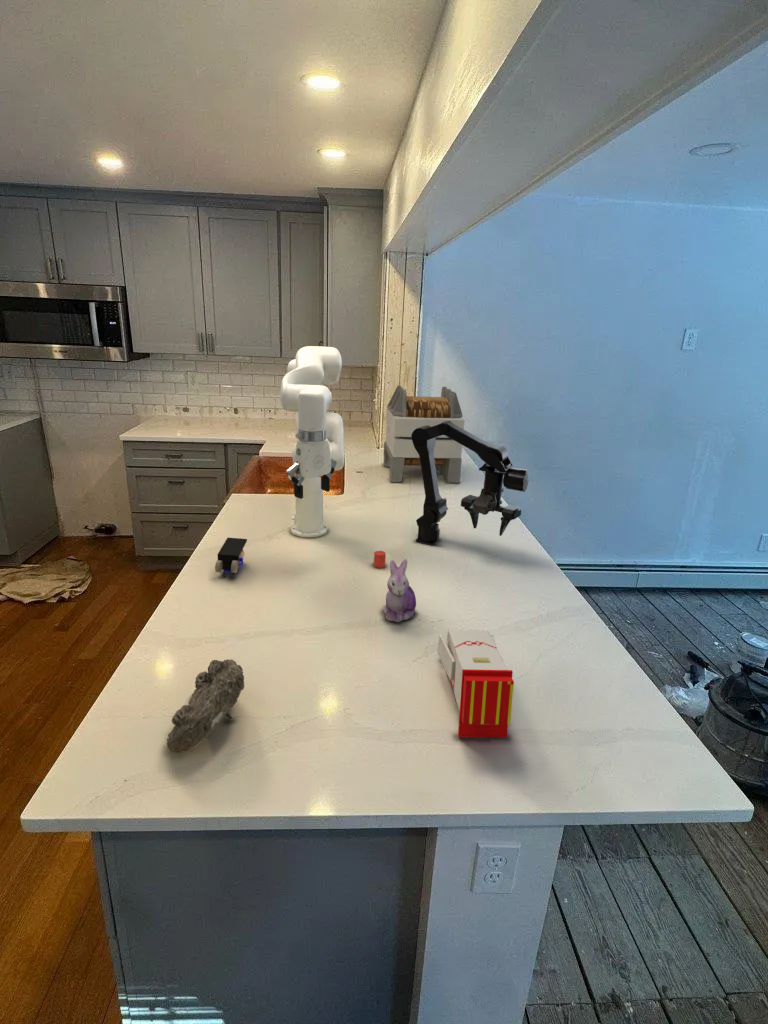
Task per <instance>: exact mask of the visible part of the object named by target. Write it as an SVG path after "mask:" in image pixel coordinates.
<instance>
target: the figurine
mask: <svg viewBox="0 0 768 1024" xmlns="http://www.w3.org/2000/svg"><path fill="white" fill-rule="evenodd" d="M407 567H408V559H406V558H404V559H403V560H402V561H401V563H400V565H399V566H398V565H397V563H396V562H395V561H394V560H393V559H391V560H390V561H389V570H390V576H389V578H388V579H387V589H388V591H387V592H386V594H385V595H386V596H385V607H384V615H385V616H386V620H387V621H391V622H395V623H400V622H402V621H406V620H409V619H410V618H411V617H413V616H414V615H415V610H416V606H417V597H416V593H415V591H414V590H413V587H411V586H410V582H409V579H408V577H407V574H406V571H407Z"/></svg>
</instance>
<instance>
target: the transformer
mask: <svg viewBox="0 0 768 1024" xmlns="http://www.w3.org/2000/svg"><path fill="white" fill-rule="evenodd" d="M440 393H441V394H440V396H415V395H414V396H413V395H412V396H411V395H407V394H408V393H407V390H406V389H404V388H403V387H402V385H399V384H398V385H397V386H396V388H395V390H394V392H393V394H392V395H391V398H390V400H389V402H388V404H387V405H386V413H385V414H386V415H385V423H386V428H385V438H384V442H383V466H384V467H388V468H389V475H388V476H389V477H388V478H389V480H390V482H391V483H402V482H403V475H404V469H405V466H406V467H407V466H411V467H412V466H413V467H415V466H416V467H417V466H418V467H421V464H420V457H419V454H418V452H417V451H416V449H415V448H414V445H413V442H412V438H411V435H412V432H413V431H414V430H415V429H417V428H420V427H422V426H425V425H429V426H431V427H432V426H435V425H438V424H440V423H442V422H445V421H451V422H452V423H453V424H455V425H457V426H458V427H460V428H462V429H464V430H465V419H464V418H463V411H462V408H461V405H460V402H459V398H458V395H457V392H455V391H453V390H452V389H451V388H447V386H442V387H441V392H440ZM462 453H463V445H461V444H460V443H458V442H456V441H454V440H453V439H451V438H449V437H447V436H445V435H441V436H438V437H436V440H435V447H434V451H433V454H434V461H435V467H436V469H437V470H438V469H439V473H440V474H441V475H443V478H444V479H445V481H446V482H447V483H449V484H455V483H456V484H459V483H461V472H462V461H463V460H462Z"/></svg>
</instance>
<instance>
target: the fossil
mask: <svg viewBox="0 0 768 1024" xmlns="http://www.w3.org/2000/svg"><path fill="white" fill-rule="evenodd" d="M243 670H244V669H243V667H242V665H240V664H237V662H236V661H235V660H234V659H232V658H231V659H227V658H226V659H224V660H223V661H222V660H217V659H212V660H211V661H210V663H209V665H208V666H207V671H201V672H199V673H198V674H197V675H196V676H195V680H194V684H195V685H194V687H195V689H194V690H193V693H192V694H191V697H190V698H189V700H188V704H184V705H182V706H181V707H180V709H177V710H176V711H175V713H174V715H173V716H172V718H171V723H172V724H173V727H172V730H171V731H170V732H168V734H167V738H166V741H167V742H166V745H167V749H168V750H169V751H173V752H174V753H176V754H178V753H182V752H188V751H189V752H192V751H193V750H195V748H196V747H197V746H199V744H200V743H201V742H203V741H204V740H205V739H206V738H207V737H208V736H209V735H210V734H211V733H212V732H214V730H215V729H217V727H218V726H219V724H220V722H221V721H222V720H223V719H224V718H225V716H226V717H227V719H229V720H233V717H232V715H230V714H229V710H230V709H231V708H234V706H235V704H236V703H237V702H238V699H239V697H240V695H241V693H242V691H243V690H245V689H244V688H245V675H244V671H243Z"/></svg>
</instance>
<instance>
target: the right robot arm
mask: <svg viewBox="0 0 768 1024" xmlns="http://www.w3.org/2000/svg"><path fill="white" fill-rule="evenodd" d="M441 435H445V436H447V437H449V438H451V439H453V440H454V441H456V442H458V443H460V444H461V445H462V447H465V448H467V450H468V449H469V450H470V451H472V452H474V453H475V454H476V455H477V457H479V459H480V460H482V462H484V464H483V465H482V466H481V467H479V468H478V471H481V472H484V480H483V487H482V488H481V491H480V494H479V496H477V495H472V494H468V495H466V496H463V498H461V500H460V507H463V509H464V510H465V511H467V512H468V514H469V516H470V520H471V523H472V526H473V529H477V527H478V524H479V516H480V514H481V515H484V516H486V515H488V514H489V512H492V513H494V512H498V513H501V517H500V521H501V522H500V527H499V537H502V536H503V534H504V532H505V531H506V529H507V527H508V525H509V524H510V522H511V521H514V520H516V519H517V518H519V517H521V515H522V509H521V507H520V506H516V505H513V504H509V505H506V506H503V505H502V504H503V500H501V499H502V493H504V489H508V490H512V491H517V492H523V493H525V492H526V490H527V489H528V486H529V480H530V479H529V473H528V469H526V468H517V467H514V464H513V462H512V461H511V459H510V457H509V452H508V449H507V447H505V446H504V445H501V444H499V443H495V442H493V441H489V440H488V441H487V440H484V439H483V438H480V437H478V436H477V435H474V434H473V433H471V432H469V431H468V430H466V429H465V428H464V429H462V428H460V427H458V426H457V425H455V424H453V423H452V422H451V421H445V422H442V423H440V424H438V425H435V426H432V427H431V426H429V425H425V426H422V427H420V428H417V429H415V430H414V431H413V432H412V435H411V438H412V442H413V445H414V448H415V449H416V451H417V452H418V454H419V457H420V464H421V466H420V470H421V476H422V483H423V490H424V496H425V498H424V502H423V506H422V508H423V509H422V515H421V516H420V517H418V518H416V520H415V522H416V526H417V538H416V539H415V542H417V543H421V544H425V545H430V546H435V544H436V543H437V542H438V541H439V540H440V532H441V528H439V526H440V524H439V522H441V520H442V519H444V518H445V517H446V515H447V511H448V510H449V507H448V505H447V500H448V499H447V498H446V497H444V498H443V497H442V495H441V494H440V490H439V483H438V476H437V467H436V466H435V461H434V454H433V451H434V447H435V440H436V437H438V436H441ZM503 487H504V488H503Z"/></svg>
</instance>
